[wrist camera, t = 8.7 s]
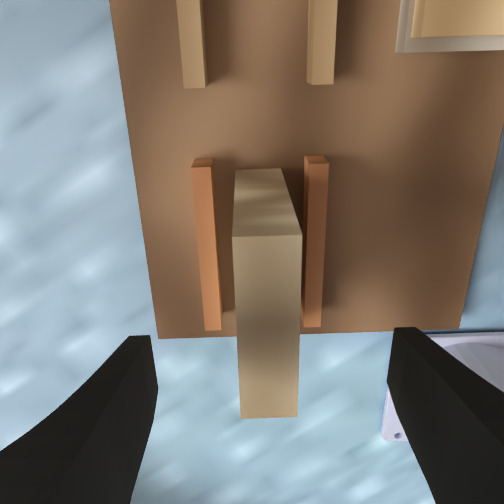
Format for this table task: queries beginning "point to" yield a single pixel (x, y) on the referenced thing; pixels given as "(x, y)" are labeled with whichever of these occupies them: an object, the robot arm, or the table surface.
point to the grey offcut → (438, 43)
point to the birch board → (266, 293)
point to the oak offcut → (457, 18)
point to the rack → (307, 156)
